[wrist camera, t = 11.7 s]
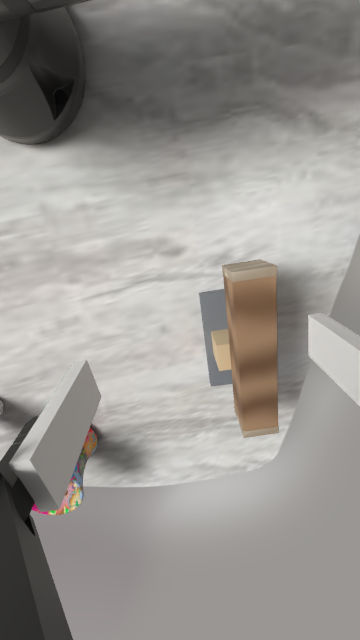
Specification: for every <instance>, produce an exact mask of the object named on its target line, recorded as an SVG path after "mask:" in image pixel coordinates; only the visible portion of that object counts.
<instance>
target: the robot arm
mask: <svg viewBox="0 0 360 640" xmlns="http://www.w3.org/2000/svg"><path fill="white" fill-rule="evenodd" d="M86 1H91V0H0V136H1V137H3V138H5V139H8V140H10V141H14V142H18V143H23V144H37V143H42V142H46V141H49V140H51V139H53V138H55V137H57V136H58V135H60V134H61V133H62V132H64V131H65V130H66V129H67V128H68V126H69V125H70V124H71V123H72V121H73V120H74V118H75V117H76V115H77V113H78V110H79V108H80V105H81V102H82V99H83V94H84V88H85V63H84V56H83V51H82V47H81V43H80V40H79V37H78V34H77V31H76V29H75V27H74V25H73V22H72V20H71V18H70V16H69V14H68V12H67V10H66V8H65V7H66V6H70V5H74V4H78V3H82V2H86ZM308 344H309V357H310V358H311V359H312V360H313V361H314V362H315V363H317V364H318V366H319V367H320V368H321V369H322V370H323V371H324V372H325V373H327V375H328V376H329V377H330V378H331V379H332V380H333V381H334V382H335V383H336V384H337V385H339V387H340V388H341V389H342V390H344V391H345V392H346V393H347V394H348V395H349V396H350V397H351V398H352V399H353V400H354V401H355V402H356V403H357V404H358V405H359V406H360V336H359V335H357V334H356V333H354V332H353V331H351V330H349V329H348V328H346V327H345V326H343V325H341V324H340V323H338V322H337V321H335V320H333V319H332V318H330V317H329V316H327V315H325V314H324V313H322V312H320V313H315V314H310V315H308ZM100 399H101V394H100V392H99V389H98V387H97V384H96V382H95V379H94V377H93V374H92V372H91V369H90V367H89V364H88V362H87V360H82V361H77V362H74V363H73V365H72V366H71V368H70V369H69V371H68V372H67V374H66V375H65V377H64V379H63V380H62V382H61V383H60V385H59V386H58V388H57V389H56V391H55V392H54V394H53V396H52V397H51V399H50V400H49V402H48V403H47V405H46V406H45V408H44V410H43V411H42V413H41V414H40V416H36V417H34V418H33V419H32V420H31V421H29V422H28V423H27V424H26V425H25V426H24V428H23V429H22V431H21V432H20V434H19V435H18V437H17V438H16V439H15V441H14V442H13V445H11V447H10V448H9V450H8V451H7V453H6V454H5V456H4V457H3V458H2V460H1V461H0V640H73V638H72V635H71V632H70V629H69V626H68V623H67V620H66V618H65V614H64V611H63V608H62V605H61V602H60V599H59V596H58V593H57V590H56V587H55V584H54V581H53V578H52V575H51V572H50V569H49V566H48V563H47V560H46V557H45V554H44V551H43V548H42V545H41V542H40V539H39V535H38V532H37V529H36V526H35V523H34V520H33V518H32V517H31V515H30V511H31V509H32V507H33V505H34V503H35V504H36V506H37V507H38V509H39V510H40V512H46V511H52V510H57V509H60V507H61V504H62V502H63V499H64V496H65V493H66V491H67V488H68V485H69V483H70V480H71V477H72V475H73V472H74V469H75V466H76V464H77V461H78V458H79V456H80V453H81V450H82V448H83V445H84V442H85V439H86V437H87V434H88V431H89V429H90V426H91V423H92V420H93V418H94V415H95V412H96V410H97V407H98V404H99V402H100Z"/></svg>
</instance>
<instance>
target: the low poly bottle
mask: <svg viewBox="0 0 360 640" xmlns="http://www.w3.org/2000/svg"><path fill="white" fill-rule="evenodd" d="M3 406H4V404H3V403H2V401H1V400H0V416H1V414H2V413H3Z"/></svg>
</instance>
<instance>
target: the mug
mask: <svg viewBox="0 0 360 640" xmlns="http://www.w3.org/2000/svg"><path fill="white" fill-rule="evenodd" d="M97 446H98V439H97V436H96V434H95V432H94V431H93V430H92V429H91V428H90V429H89V431H88V434H87V437H86V439H85V442H84V445H83V448H82V450H81V453H80V456H79V458H78V461H77V464H76V466H75V469H74V472H73V475H72V477H71V480H70V483H69V485H68V488H67V491H66V493H65V496H64V499H63V502H62V504H61V507H60V509H57V510H52V511H46V512H40V510H39V509H38V507H37V506H36V504H35V503H34V505H33V507H32V510H34V511H36V512H39V513H42V514H48V515H60V514H65V513H68V512H71V511H73V510H74V509H76V508H77V507H78V506H79V505H80V504H81V502H82V500H83V496H84V491H83V473H84V468H85V465H86V462H87V460H88V458H89V457H90V456H91V455H92V454H93V453H94V452H95V450H96V448H97Z"/></svg>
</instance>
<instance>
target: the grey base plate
mask: <svg viewBox="0 0 360 640" xmlns="http://www.w3.org/2000/svg"><path fill="white" fill-rule="evenodd" d="M199 296H200V304H201V312H202V320H203V329H204V337H205V345H206V353H207V361H208V369H209V377H210V384H211V386H218V385H225V384H232V383H233V381H232V369H231V357H230V346H229V334H228V322H227V311H226V299H225V289H222V290H215V291H208V292H202V293H199Z"/></svg>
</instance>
